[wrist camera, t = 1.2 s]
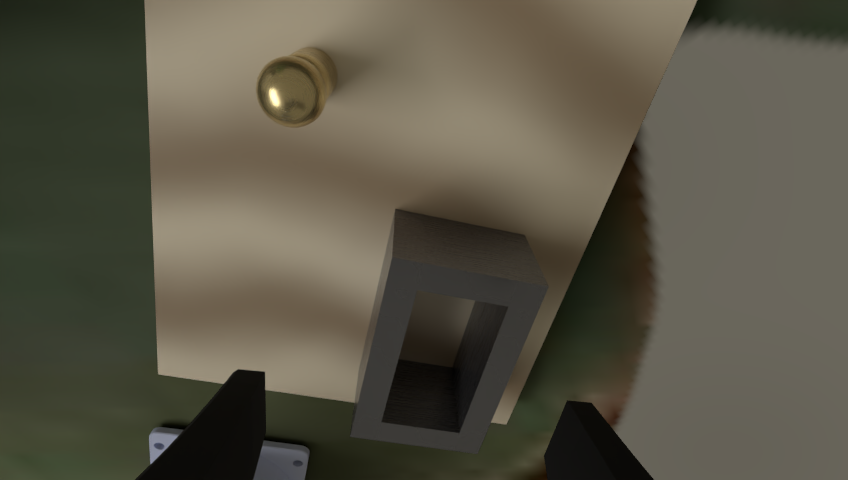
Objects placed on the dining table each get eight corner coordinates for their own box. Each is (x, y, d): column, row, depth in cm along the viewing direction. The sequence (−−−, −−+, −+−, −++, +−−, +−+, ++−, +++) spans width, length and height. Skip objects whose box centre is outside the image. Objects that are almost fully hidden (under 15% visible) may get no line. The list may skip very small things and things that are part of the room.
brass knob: (336, 108, 16) (316, 142, 12) (280, 96, 15) (244, 127, 12) (344, 51, 15) (325, 70, 11) (285, 37, 14) (249, 52, 11)
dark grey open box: (467, 387, 22) (477, 454, 18) (358, 370, 21) (350, 436, 18) (525, 234, 18) (549, 286, 15) (395, 208, 17) (392, 257, 14)
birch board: (501, 400, 24) (506, 424, 23) (173, 350, 22) (158, 374, 21) (692, -46, 15) (718, -48, 14) (164, -203, 13) (136, -224, 12)
